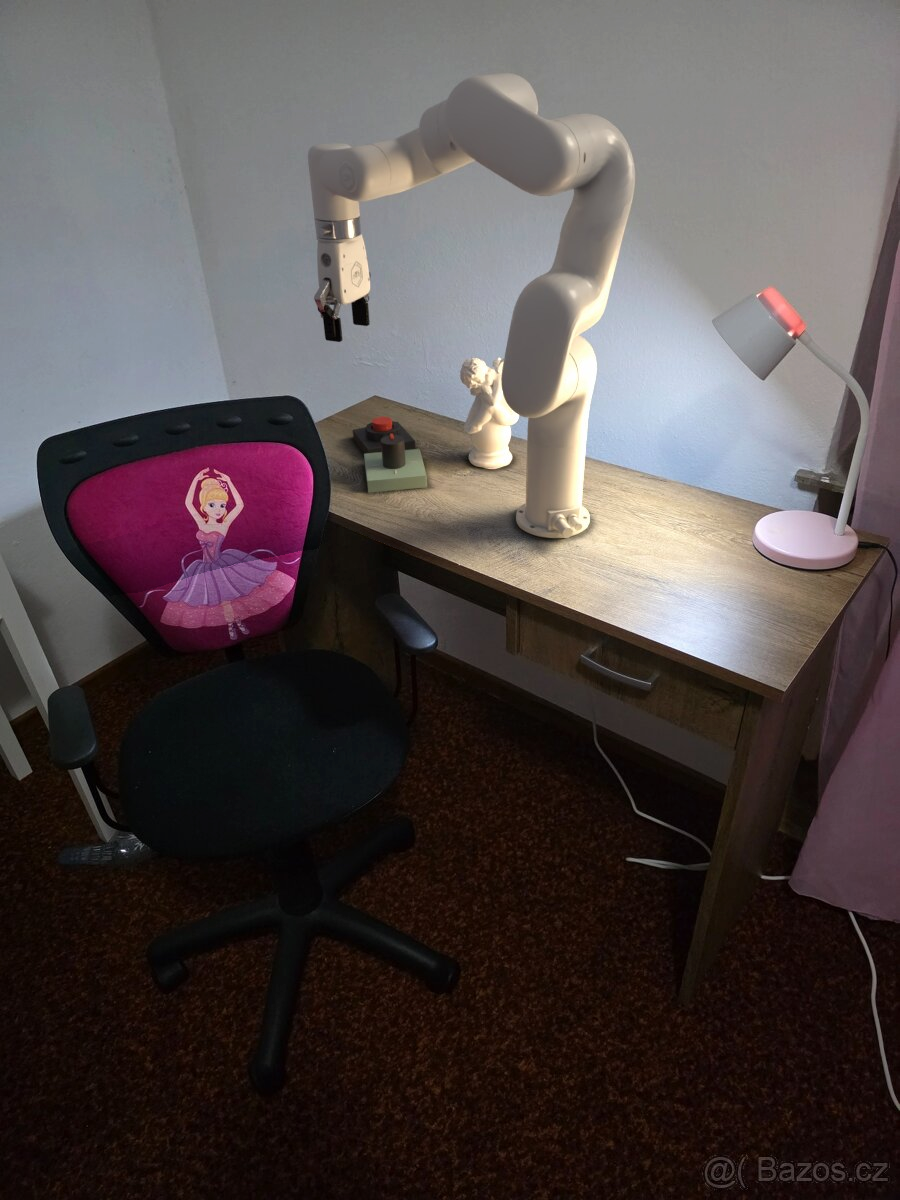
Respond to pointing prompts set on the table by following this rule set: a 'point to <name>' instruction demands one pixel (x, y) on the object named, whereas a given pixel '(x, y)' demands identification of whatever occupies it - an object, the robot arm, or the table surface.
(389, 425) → the button
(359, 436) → the button box
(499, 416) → the cherub figurine
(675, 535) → the table surface
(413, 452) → the console
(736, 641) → the table surface
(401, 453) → the dial
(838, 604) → the table surface
